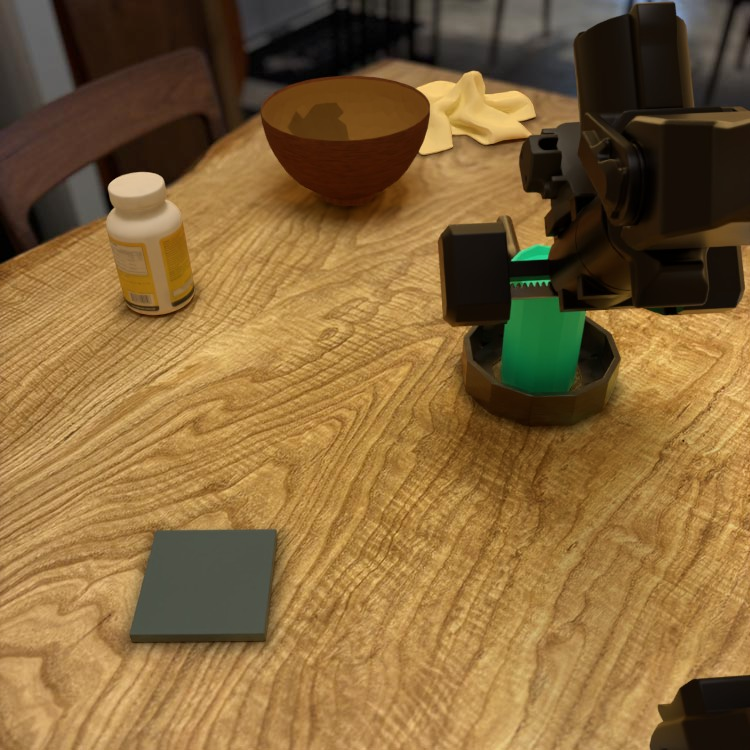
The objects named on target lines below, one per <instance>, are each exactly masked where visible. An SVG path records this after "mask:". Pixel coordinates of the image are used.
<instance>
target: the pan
mask: <svg viewBox="0 0 750 750" xmlns="http://www.w3.org/2000/svg"><path fill="white" fill-rule="evenodd" d="M495 222H503V225H504V228H505V230H506V236H507V249H508V261H511V260H512V259H513V258H514V257H515V256H516V255H517V254H518V253H519V252H520V251H522V249H521V247H520V243H519V240H518V236H517V232H516V229H515V225H514V222H513V219H512V218H511V216H509V215H507V214H501V215H500V216H498V217H497V219H496V221H495ZM504 328H505V324H499V325H481V326H470V328H468V330H467V331H466V333H465V334H464V335H463V338H462V351H461V371H462V378H463V384H464V385H463V386H464V390H465V391H466V392H467V393H468V394H469V396H471V397H472V398H473V399H474V400H475V401H476V402H477V403H478V404H479V405H480V406H481V407H482V408H484V409H485V410H486V411H487V412H488V413H489V414H492V415H494V416H497V417H500V418H503V419H506V420H509V421H512V422H514V423H518V424H521V425H523V426H527V427H554V426H556V427H557V426H558V427H559V426H561V427H562V426H573V425H574V424H575V425H576V424H577V423H579V422H581V421H583V420H586V419H587V418H590V417H592V416H594V415H596V414H599V413H601V412H602V411H603V410H604V409H605V407H606V406H607V403H608V401H609V399H610V397H611V396H612V394H613V392H614V390H615V388H616V384H617V379H618V375H619V370H620V365H621V360H622V357H621V354H620V352H619V349H618V347H617V344H616V342H615V339H614V337H613V334H612V333H611V332H610V331H609V330H607V329H606V328H605V327H603V326H602V325H600V324H599V323H598V322H596V321H594V320H593V319H592V318H590V317H589V316H588V315H586V316H585V322H584V328H583V334H582V339H581V345H580V351H579V357H578V363H577V371H578V374H579V377H580V380H581V384H582V385H581V386H580V387H579V388H577V389H575V390H573V391H568V392H531V391H527V390H524V389H521V388H518V387H515V386H512V385H509V384H506V383H503V382H502V381H499V380H496V377H495V371H494V367H493V366H494V365H495V364H497V363H498V362H500V361H501V358H502V348H503V338H504Z"/></svg>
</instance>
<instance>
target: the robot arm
mask: <svg viewBox="0 0 750 750" xmlns="http://www.w3.org/2000/svg"><path fill="white" fill-rule="evenodd" d="M687 29H688V28H687V25H686V22H685V20H684V19H683V18H681V17H680V16H679V15H677V5H676V3H675V2H674V1H651V2H650V1H649V2H647V1H646V2H635V3H634V5H633V6H632V8H631V9H630V11H629V12H628V13H624V14H621V15H617V16H614V17H610V18H608V19H605V20H603V21H601V22H598V23H597V24H595V25H593V26H591V27H589V28H588V29H586V30H584V31H583V30H582V31H580V32H578V33H577V35H576V36H575V38H574V39H573V43H572V49H573V51H572V52H573V61H574V62H573V63H574V71H575V72H574V73H575V84H576V97H577V107H578V108H577V109H578V120H579V121H571V122H570V121H567V122H563V123H561V124H559V125H557V126H556V127H550V128H549V127H548V128H541V131H540V134H532V135H530V136H529V137H528V138H525V140H524V141H523V142H522V144H521V147H520V152H519V156H518V167H519V174H520V178H521V184H522V189H523V191H524V192H525V193H526V194H531V193H532V194H533V193H535V194H539V195H540V198H541V199H542V200H549V201H550V209H549V211H548V212H547V214H545V216H544V217H543V221H544V233H545V237H546V238H552V237H553V244H552V245H550V246H551V249H550V252H549V255H548V259H543V260H523V261H508V249H507V236H506V230H505V228H504V225H503V222H496V221H493V222H471V223H470V222H469V223H452V224H448V225H447V226H446V228H444V230H443V231H442V232H441V234H439V237H438V239H437V251H438V267H439V280H440V281H439V282H440V294H441V295H440V297H441V309H442V319H443V320H444V321H445V322H446V323H447V324H448V325H449V326H451V327H452V328H461V327H472V326H481V325H499V324H507V321H509V320H510V312H511V303H512V302H511V300H522V299H542V298H559V310H560V312H577V311H586V312H593V311H596V312H597V311H613V310H630V309H631V310H633V309H643V310H645V311H649V312H652V313H655V314H658V315H661V316H664V317H668V316H687V315H688V316H690V315H691V316H692V315H706V314H724V313H726V312H728V311H731V310H733V309H736V308H737V307H738V305H739V304H740V303H741V301H742V300H743V297H744V294H745V290H746V281H745V272H744V263H743V251H742V246H750V110H748V109H746V108H744V107H743V106H718V105H715V106H712V105H711V106H695V99H694V91H693V89H694V88H693V80H692V78H693V77H692V70H691V59H690V49H689V48H690V47H689V39H688V30H687ZM537 280H550V281H549V282H548V284H547V286H546V284H545V282H542V284H541V286H540V285H539V282H536V283H535V287H534V285H533V283H532V282H530V283H529V287H528V286H527V284H526V283H523V286H522V287H521V285H520V283H517V286H516V288H515V286H514V283H512V284H511V285H510V282H518V281H537ZM657 711H658V714H659V716H660V718H661V720H662V721H661V722H659V723H658V724H657V725H656V726H655V729H654V730H653V732H652V734H651V737H650V741H649V744H648V745H649V750H750V674H741V675H740V674H739V675H728V676H727V675H725V676H714V677H713V676H712V677H700V678H692V679H690V680H689V681H687V682H686V683H685V684H683V685H682V686H680V687H679V688H678V690H677V692H676V694H675V695H674V698H673V700H672V701H671V702H670V703H659V704H657Z"/></svg>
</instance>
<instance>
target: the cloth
mask: <svg viewBox="0 0 750 750" xmlns="http://www.w3.org/2000/svg"><path fill="white" fill-rule="evenodd" d="M414 88H415V87H414ZM486 88H487V87H486V85H485V82H484V79H483V75H482V73H481V72H480V71H477V70H471V71H468V72H465V73H463V75H462V76H461V78H460V79H459V80H458V81H457V82H452V81H447V80H434V81H432V82H429V83H428V82H427V83H424V84H422V85H420V86H418V87H416V88H415V89H417V90H419V91H420V92H422V93H423V94H424V95H425V96H426V97H427V99H428V100H429V103H430V118H429V124H428V129H427V132H426V136H425V139H424V142H423V144H422V146H421V148H420V150H419V152H418V154H419V155H421V156H426V155H432V154H437V153H440V152H444V151H447V150H450V149H452V148H453V147H454V144H453V136H467V137H470V138H471V139H473V140H475V141H476V142H478V143H479V144H481V145H483V146H488V145H492V144H493V145H494V144H496V143H498V142H502V141H510V140H519V139H527V138H528V137H529V136H530V135H533V134H532V133H531V132H530V131H529V130H528V129H527V128H526V127H525V126H524V125H523V124H522V123H521V122H525V121H527V120H531V119H534V118H536V117H537V115H536V111H535V107H534V104H533V101H531V100H530V98H529V96H527V95H526V94H523V93H522V92H520V91H517V90H509V91H504V92H497V93H486Z"/></svg>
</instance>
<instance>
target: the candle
mask: <svg viewBox="0 0 750 750" xmlns="http://www.w3.org/2000/svg"><path fill="white" fill-rule="evenodd" d="M551 246H552V245H545V244H544V245H543V244H534V245H531V246H529V247H527V248H524V249H521V251H520V252H519V253H518V254H517V255H516V256H515V257H514V258H513V259H512V260H511V261H523V260H543V259H548V255H549V252H550V249H551ZM549 281H550V280H537V281H518V282H510V285H511V284H512V283H514V286H515V288H516V286H517V283H520V285H521V287H522V286H523V283H526V284H527V286H528V287H529V283H530V282H532V283H533V285H534V287H535V283H536V282H539V285H540V286H541V284H542V282H545V284H546V286H547V284H548V282H549ZM511 302H512V303H511V312H510V320H509V321H507V324H505V328H504V338H503V348H502V358H501V360H500V369H499V370H500V378H501V382H503V383H506V384H509V385H512V386H515V387H518V388H521V389H524V390H527V391H531V392H570V390H571V388H572V386H573V385H574V383H575V380H576V374H577V370H578V368H577V363H578V357H579V351H580V345H581V339H582V334H583V328H584V322H585V316H587V311H577V312H560V310H559V298H542V299H522V300H511Z"/></svg>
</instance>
